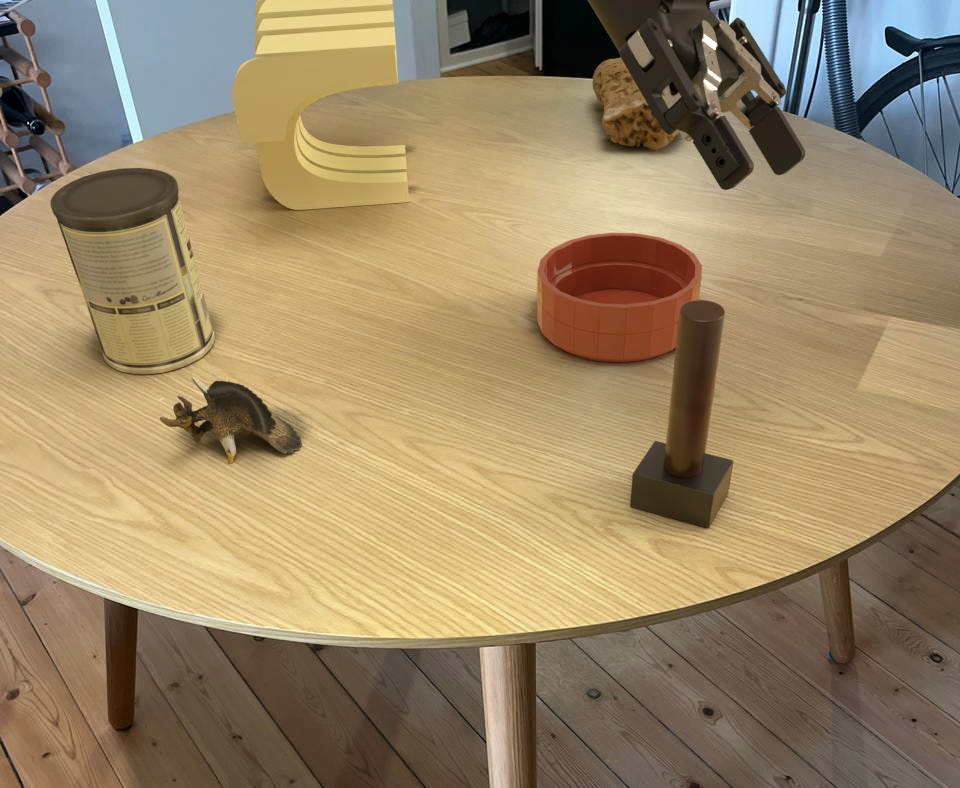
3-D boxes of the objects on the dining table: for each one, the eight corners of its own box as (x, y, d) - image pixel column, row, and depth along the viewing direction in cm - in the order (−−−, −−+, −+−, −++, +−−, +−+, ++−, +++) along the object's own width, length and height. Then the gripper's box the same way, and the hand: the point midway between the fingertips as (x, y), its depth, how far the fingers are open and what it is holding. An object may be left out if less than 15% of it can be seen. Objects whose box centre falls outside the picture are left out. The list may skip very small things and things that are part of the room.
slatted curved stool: (278, 141, 129) (250, -22, 117) (404, 132, 130) (389, -31, 117) (261, 245, 108) (224, 59, 96) (411, 234, 109) (394, 47, 96)
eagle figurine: (169, 472, 78) (279, 454, 76) (149, 377, 77) (260, 356, 75) (212, 466, 85) (313, 450, 84) (194, 380, 84) (296, 361, 82)
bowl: (716, 305, 95) (723, 248, 91) (662, 380, 86) (667, 320, 82) (576, 278, 100) (577, 222, 96) (512, 346, 91) (510, 288, 87)
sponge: (686, 164, 122) (702, 73, 132) (678, 101, 115) (696, 10, 126) (578, 178, 126) (602, 89, 136) (566, 118, 120) (592, 29, 130)
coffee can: (85, 343, 95) (31, 190, 85) (186, 307, 99) (146, 157, 89) (129, 388, 89) (77, 229, 79) (235, 348, 93) (198, 192, 83)
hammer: (728, 493, 75) (759, 303, 65) (708, 528, 73) (737, 336, 62) (651, 473, 77) (669, 286, 67) (629, 506, 75) (644, 317, 64)
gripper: (619, -109, 57) (772, 143, 58) (726, -91, 67) (855, 124, 68) (533, -2, 62) (674, 227, 63) (644, 0, 72) (764, 198, 73)
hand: (767, 173), depth 66 cm, fingers open, 8 cm apart
